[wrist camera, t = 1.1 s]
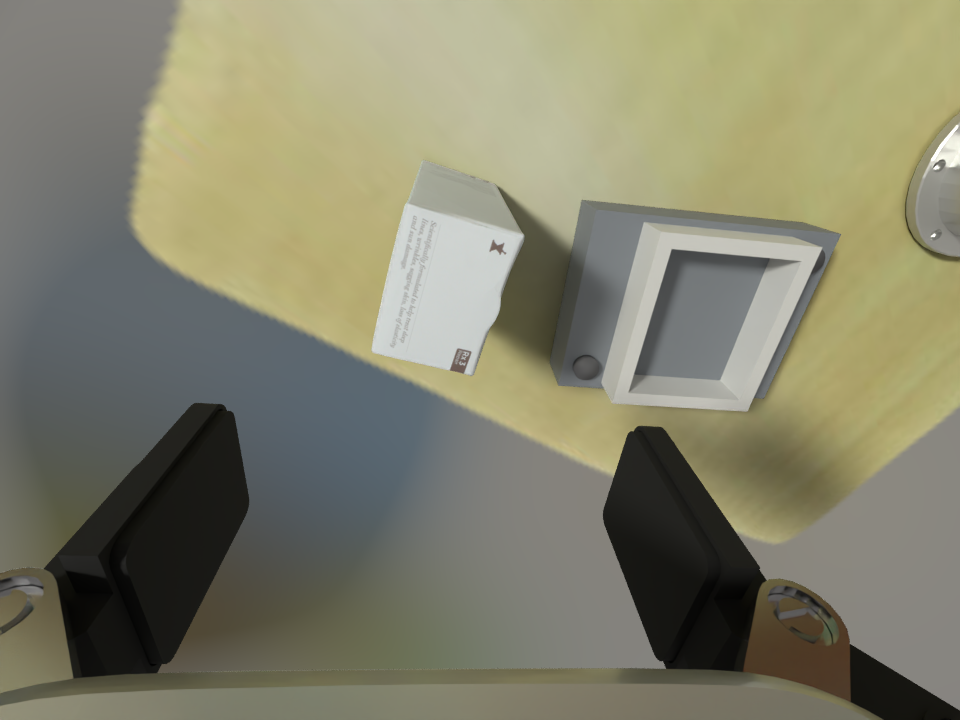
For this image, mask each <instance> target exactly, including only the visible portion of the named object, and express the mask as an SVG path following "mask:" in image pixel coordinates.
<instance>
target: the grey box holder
mask: <svg viewBox="0 0 960 720" xmlns="http://www.w3.org/2000/svg"><path fill="white" fill-rule="evenodd" d="M840 236H841V234H839V233H836V232H832V231H829V230H826V229H823V228H819V227H816V226H813V225H810V224H806V223H803V222H793V221H783V220H773V219H763V218H754V217H744V216H734V215H724V214H714V213H704V212H694V211H685V210H675V209H665V208H655V207H645V206H635V205H626V204H616V203H606V202H596V201H586V200H582V202H581V207H580V212H579V217H578V222H577V227H576V232H575V237H574V242H573V247H572V252H571V257H570V262H569V267H568V272H567V277H566V282H565V287H564V292H563V297H562V302H561V307H560V313H559V318H558V323H557V328H556V333H555V338H554V343H553V348H552V353H551V358H550V365H551V367H552V370H553V372H554V375H555V378H556V380H557V383H558V386H573V387H589V388H604V389H605V391H606V393H607V395H608V397H609V398H610V400H611V402H612V403H615V404H631V405H648V406H664V407H681V408H697V409H714V410H730V411H748V409H749V407H750V405H751V402H752V400H753V398H762V399H764V397H765V395H766V392H767V390H768V388H769V386H770V384H771V382H772V380H773V378H774V376H775V373H776V371H777V369H778V367H779V365H780V363H781V361H782V359H783V356H784V354H785V352H786V350H787V348H788V346H789V344H790V342H791V339H792V337H793V335H794V333H795V331H796V329H797V327H798V325H799V323H800V320H801V318H802V316H803V314H804V312H805V310H806V308H807V306H808V303H809V301H810V299H811V297H812V295H813V293H814V291H815V289H816V286H817V284H818V282H819V280H820V278H821V276H822V274H823V272H824V269H825V267H826V265H827V263H828V261H829V259H830V257H831V255H832V253H833V250H834V248H835V246H836V244H837V242H838V240H839V238H840Z"/></svg>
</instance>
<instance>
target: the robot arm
mask: <svg viewBox="0 0 960 720" xmlns="http://www.w3.org/2000/svg"><path fill="white" fill-rule="evenodd" d="M906 217H907V221H908V226H909V229H910V231H911V233H912V234H913V236H914V238H915V239H916V240H917V241H918V242H919V243H920V244H921V245H922V246H923V247H925V248H927V249H929V250H931V251H933V252H936V253H940V254H943V255H947V256H954V257H960V112H959V113H958V114H957V115H956V116H955V117H953V119H952V120H951V121H950V122H949V123H948V124H947V125H946V126H945V127H944V128H943V129H942V130H941V131H940V132H939V134H938V135H937V136H936V138H935V139H934V140H933V142H932V143H931V145H930V146H929V147H928V149H927V150H926V152H925V153H924V155H923V157H922V159H921V161H920V162H919V164H918V166H917V168H916V170H915V173H914V175H913V178H912V181H911V183H910V186H909V191H908V196H907V201H906ZM248 506H249V495H248V489H247V484H246V478H245V473H244V467H243V462H242V456H241V450H240V444H239V439H238V433H237V428H236V423H235V417H234V414H233V413H232V412H231V411H227V410H226V407H225V406H224V405H222V404H205V403H194V404H193V405H191V406H190V407H189V408H188V410H187V411H186V412H185V413H184V414H183V415H182V416H181V417H180V419H179V420H178V421H177V422H176V423H175V424H174V425H173V426H172V428H171V429H170V430H169V431H168V432H167V433H166V434H165V435H164V436H163V438H162V439H161V440H160V441H159V442H158V443H157V444H156V446H155V447H154V448H153V449H152V450H151V451H150V452H149V453H148V455H147V456H146V457H145V458H144V459H143V460H142V461H141V462H140V463H139V464H138V465H137V466H136V467H135V468H133V470H132V471H131V472H130V473H129V474H128V475H127V476H126V477H125V479H124V480H123V481H122V482H121V483H120V484H119V485H118V486H117V488H116V489H115V490H114V491H113V492H112V493H111V494H110V495H109V496H108V498H107V499H106V500H105V501H104V502H103V503H102V504H101V506H100V507H99V508H98V509H97V510H96V511H95V512H94V513H93V514H92V515H91V516H90V518H89V519H88V520H87V521H86V522H85V523H84V524H83V525H82V527H81V528H80V529H79V530H78V531H77V532H76V533H75V534H74V536H73V537H72V538H71V539H70V540H69V541H68V542H67V543H66V545H65V546H64V547H63V548H62V549H61V550H60V551H59V552H58V553H57V554H56V556H55V557H54V558H53V559H52V560H51V561H50V562H49V563H48V565H47V566H46V567H45V568H44V569H42V568H33V567H26V568H19V569H12V570H9V571H5V572H2V573H0V720H960V711H959V710H958V709H956V708H954V707H953V706H951V705H950V704H948V703H946V702H945V701H943V700H941V699H940V698H938V697H937V696H935V695H933V694H931V693H930V692H928V691H927V690H925V689H923V688H922V687H920V686H918V685H917V684H915V683H913V682H912V681H910V680H908V679H907V678H905V677H903V676H902V675H900V674H899V673H897V672H895V671H894V670H892V669H890V668H889V667H887V666H885V665H884V664H882V663H880V662H879V661H877V660H875V659H874V658H872V657H871V656H869V655H867V654H866V653H864V652H862V651H861V650H859V649H857V648H856V647H854V646H852V645H851V644H850V639H849V635H848V631H847V628H846V626H845V624H844V622H843V621H842V619H841V617H840V616H839V615H838V614H837V613H836V611H835V610H834V609H833V608H832V607H831V605H829V604H828V603H827V602H826V601H825V600H823V599H822V598H821V597H820V596H819V595H817V594H816V593H814V592H812V591H811V590H809V589H808V588H806V587H804V586H802V585H799V584H797V583H795V582H793V581H788V580H784V579H769V580H766V579H765V578H764V576H763V574H762V573H761V572H760V570H759V569H760V567H759V565H758V564H757V562H756V561H755V559H754V558H753V557H752V555H751V554H750V552H749V551H748V549H747V548H746V547H745V545H744V544H743V542H742V541H741V539H740V538H739V536H738V535H737V533H736V532H735V531H734V529H733V528H732V526H731V525H730V523H729V522H728V520H727V519H726V518H725V516H724V515H723V513H722V512H721V510H720V509H719V507H718V506H717V505H716V503H715V502H714V500H713V499H712V497H711V496H710V494H709V493H708V492H707V490H706V489H705V487H704V486H703V484H702V483H701V481H700V480H699V479H698V477H697V476H696V474H695V473H694V471H693V470H692V468H691V467H690V466H689V464H688V463H687V461H686V460H685V458H684V457H683V455H682V454H681V453H680V451H679V450H678V448H677V447H676V445H675V444H674V442H673V441H672V440H671V438H670V437H669V435H668V434H667V432H666V431H665V430H664V429H663V428H662V427H651V426H638V427H637V428H636V429H635V430H634V431H631V432H629V433H628V435H627V438H626V441H625V444H624V447H623V451H622V454H621V457H620V460H619V463H618V466H617V469H616V472H615V475H614V478H613V482H612V485H611V488H610V491H609V494H608V497H607V501H606V503H605V507H604V510H603V520H604V525H605V527H606V530H607V533H608V535H609V538H610V540H611V543H612V546H613V548H614V551H615V553H616V556H617V559H618V561H619V563H620V567H621V569H622V572H623V574H624V577H625V579H626V582H627V585H628V587H629V590H630V593H631V595H632V598H633V600H634V603H635V606H636V608H637V611H638V613H639V616H640V619H641V621H642V624H643V627H644V629H645V631H646V634H647V637H648V639H649V642H650V645H651V647H652V650H653V652H654V655H655V656H656V658H657V659H658V660H659V661H663V662H664V664H665V667H666V669H637V668H608V669H607V668H603V669H602V668H591V669H590V668H586V669H585V668H579V669H578V668H574V669H573V668H569V669H568V668H565V669H562V668H561V669H560V668H558V669H384V670H379V669H378V670H295V671H294V670H291V671H218V672H183V673H157V672H158V670H159V668H160V666H161V664H167V663H168V662H170V661H171V660H172V659H173V657H174V655H175V654H176V652H177V650H178V648H179V646H180V644H181V642H182V640H183V638H184V636H185V634H186V632H187V630H188V628H189V626H190V624H191V622H192V620H193V618H194V616H195V614H196V612H197V610H198V608H199V606H200V604H201V602H202V601H203V598H204V596H205V595H206V593H207V591H208V589H209V587H210V585H211V583H212V581H213V579H214V577H215V575H216V573H217V571H218V569H219V567H220V565H221V563H222V561H223V559H224V557H225V555H226V553H227V551H228V549H229V547H230V545H231V543H232V541H233V539H234V537H235V536H236V534H237V532H238V530H239V528H240V525H241V524H242V522H243V520H244V518H245V516H246V513H247V511H248Z"/></svg>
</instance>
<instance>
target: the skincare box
mask: <svg viewBox="0 0 960 720" xmlns="http://www.w3.org/2000/svg"><path fill="white" fill-rule="evenodd" d="M524 239H525V237H524V234H523V233H522V231H521V230H520V228H519V226H518V224H517V223H516V221H515V219H514V217H513V215H512V213H511V212H510V210H509V208H508V206H507V204H506V203H505V201H504V199H503V197H502V195H501V193H500V191H499V189H498V188H497V186H496V184H494V183H491V182H488V181H485V180H482V179H480V178H477V177H474V176H471V175H468V174H465V173H462V172H459V171H456V170H453V169H450V168H447V167H444V166H441V165H438V164H435V163H432V162H429V161H426V160H423V161H422V162H421V165H420V168H419V171H418V174H417V176H416V179H415V182H414V185H413V188H412V191H411V194H410V197H409V199H408V201H407V203H406V204H405V207H404V211H403V214H402V218H401V221H400V225H399V229H398V233H397V236H396V240H395V244H394V249H393V253H392V257H391V261H390V265H389V269H388V274H387V278H386V282H385V287H384V291H383V296H382V301H381V305H380V310H379V314H378V319H377V323H376V328H375V333H374V338H373V343H372V352H373V353H376V354H380V355H384V356H388V357H392V358H397V359H401V360H405V361H410V362H414V363H419V364H423V365H428V366H432V367H436V368H441V369H445V370H450V371H455V372H459V373H463V374H467V375H470V376H472V375H474V373H475V369H476V366H477V364H478V361H479V358H480V355H481V352H482V349H483V346H484V343H485V340H486V337H487V335H488V332H489V329H490V327H491V326H492V324H493V323H494V322H495V320H496V318H497V316H498V314H499V311H500V307H501V296H502V293H503V291H504V288H505V285H506V282H507V280H508V277H509V274H510V271H511V269H512V267H513V264H514V262H515V260H516V258H517V256H518V253H519V251H520V249H521V247H522V245H523V242H524Z"/></svg>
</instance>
